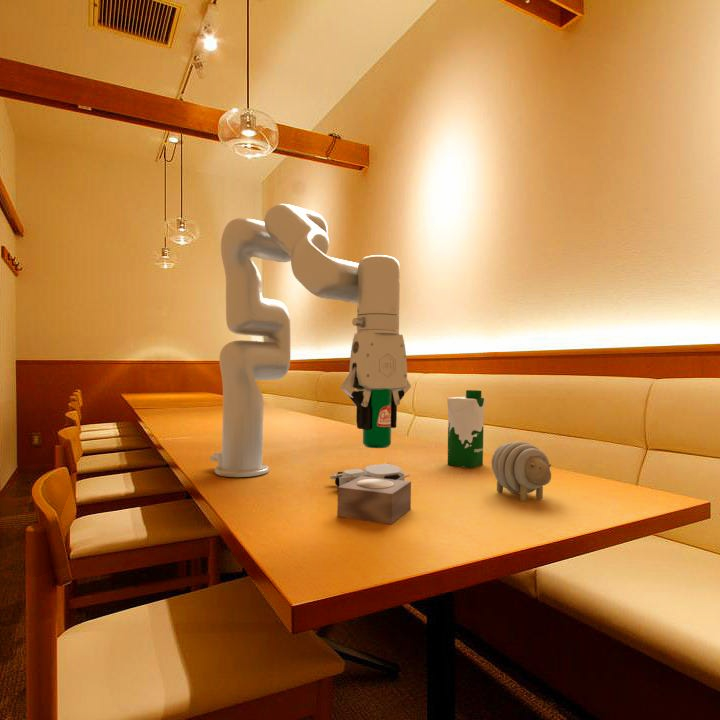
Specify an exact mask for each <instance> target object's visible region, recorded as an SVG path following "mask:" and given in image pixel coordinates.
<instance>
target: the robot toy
mask: <svg viewBox="0 0 720 720" xmlns="http://www.w3.org/2000/svg"><path fill="white" fill-rule="evenodd" d="M360 476H366V477H375V478H384V479H393V480H402V481H406V480H405V478H409V477H411V473H410V474H409V473H408V474H406V475H405V471H404V470H403V469H402V468H401V467H400V466H397V465H396V464H395V465H393V464H390V463H379V464H370V465H367V466H365V467H364V468H363V469H361V468H355V469H354V468H353V469H345V470H344V471H338V472H337V474H336V473H334V474H331V475H329V478H330V479H331V480H334V484H335V485H336V486H337V488H338V487H339V486H341V485H343V484H345V483H347V482H349V481H352V480H354V479H356V478H358V477H360Z"/></svg>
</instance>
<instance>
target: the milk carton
mask: <svg viewBox="0 0 720 720" xmlns="http://www.w3.org/2000/svg"><path fill="white" fill-rule="evenodd" d="M446 399H447V465H449V466H453V467H461V468H469V469H473V468H474V469H475V468H476V467H479V466H481V465H484V421H485V420H484V418H485V417H484V416H485V407H486V406H485V405H486V398H485V397H482V390H473V389H471V390H470V389H466V390H465V396H456V397H447V398H446Z"/></svg>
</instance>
